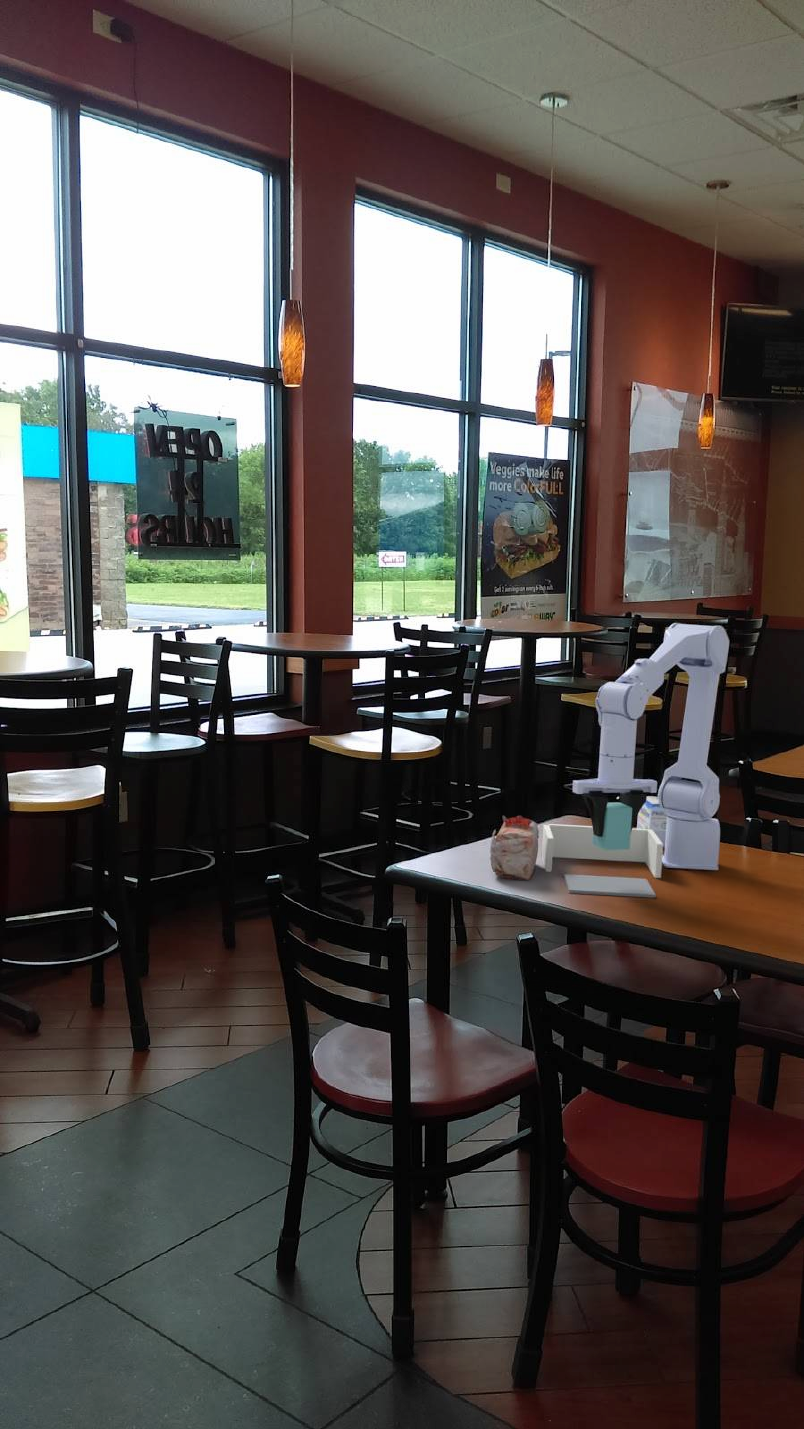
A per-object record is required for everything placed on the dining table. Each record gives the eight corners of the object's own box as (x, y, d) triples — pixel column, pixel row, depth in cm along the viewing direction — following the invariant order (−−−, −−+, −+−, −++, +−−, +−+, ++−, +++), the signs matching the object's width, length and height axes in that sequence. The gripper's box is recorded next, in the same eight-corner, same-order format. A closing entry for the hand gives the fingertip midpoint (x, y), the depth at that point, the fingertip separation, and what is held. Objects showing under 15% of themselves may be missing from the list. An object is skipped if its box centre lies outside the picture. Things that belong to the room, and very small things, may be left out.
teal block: (617, 842, 192) (619, 802, 191) (629, 849, 188) (632, 807, 187) (592, 843, 191) (595, 802, 190) (604, 850, 186) (607, 808, 186)
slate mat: (646, 881, 195) (646, 878, 194) (655, 897, 185) (655, 894, 185) (564, 876, 195) (564, 874, 195) (569, 892, 185) (569, 889, 185)
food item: (534, 883, 191) (537, 826, 189) (487, 879, 192) (490, 822, 191) (538, 864, 204) (541, 810, 203) (494, 860, 205) (497, 807, 204)
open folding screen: (650, 861, 209) (652, 829, 209) (660, 877, 197) (663, 844, 197) (541, 855, 210) (543, 823, 210) (545, 871, 198) (547, 838, 198)
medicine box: (635, 837, 229) (638, 795, 228) (656, 838, 229) (659, 796, 228) (648, 847, 221) (651, 803, 220) (670, 847, 221) (673, 804, 220)
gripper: (644, 750, 193) (639, 828, 195) (566, 751, 189) (562, 830, 191) (665, 757, 186) (659, 838, 188) (585, 758, 182) (580, 840, 184)
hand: (611, 835), depth 189 cm, fingers closed on teal block, 4 cm apart
